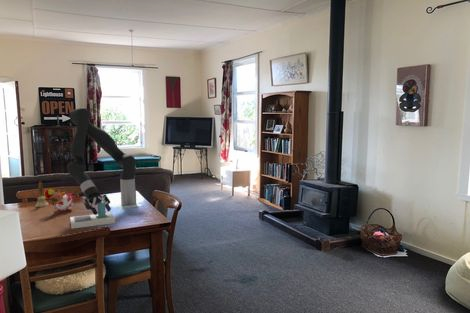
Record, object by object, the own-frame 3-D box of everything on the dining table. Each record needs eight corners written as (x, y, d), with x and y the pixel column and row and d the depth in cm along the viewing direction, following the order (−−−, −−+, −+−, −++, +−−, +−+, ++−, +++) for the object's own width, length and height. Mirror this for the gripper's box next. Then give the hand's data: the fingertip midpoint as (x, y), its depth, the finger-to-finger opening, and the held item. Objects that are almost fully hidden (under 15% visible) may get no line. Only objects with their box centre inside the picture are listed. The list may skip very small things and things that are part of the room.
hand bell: (34, 207, 234) (32, 183, 232) (35, 204, 241) (34, 181, 240) (48, 206, 237) (47, 182, 235) (49, 203, 245) (48, 180, 243)
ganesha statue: (76, 213, 226) (54, 198, 210) (57, 216, 229) (35, 201, 213) (81, 195, 234) (61, 179, 218) (63, 198, 237) (42, 182, 221)
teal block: (105, 219, 205) (104, 202, 204) (106, 221, 202) (105, 204, 201) (97, 220, 204) (97, 203, 202) (98, 222, 200) (97, 204, 199)
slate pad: (89, 215, 204) (89, 215, 204) (91, 220, 195) (91, 219, 195) (74, 217, 201) (74, 216, 201) (75, 222, 192) (75, 221, 192)
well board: (111, 217, 212) (111, 212, 211) (115, 223, 199) (115, 218, 199) (70, 222, 202) (70, 217, 201) (71, 229, 189) (71, 223, 189)
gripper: (80, 188, 199) (94, 211, 194) (102, 183, 210) (116, 205, 206) (75, 196, 202) (89, 219, 197) (97, 191, 214) (110, 213, 209)
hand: (103, 212), depth 201 cm, fingers open, 8 cm apart
